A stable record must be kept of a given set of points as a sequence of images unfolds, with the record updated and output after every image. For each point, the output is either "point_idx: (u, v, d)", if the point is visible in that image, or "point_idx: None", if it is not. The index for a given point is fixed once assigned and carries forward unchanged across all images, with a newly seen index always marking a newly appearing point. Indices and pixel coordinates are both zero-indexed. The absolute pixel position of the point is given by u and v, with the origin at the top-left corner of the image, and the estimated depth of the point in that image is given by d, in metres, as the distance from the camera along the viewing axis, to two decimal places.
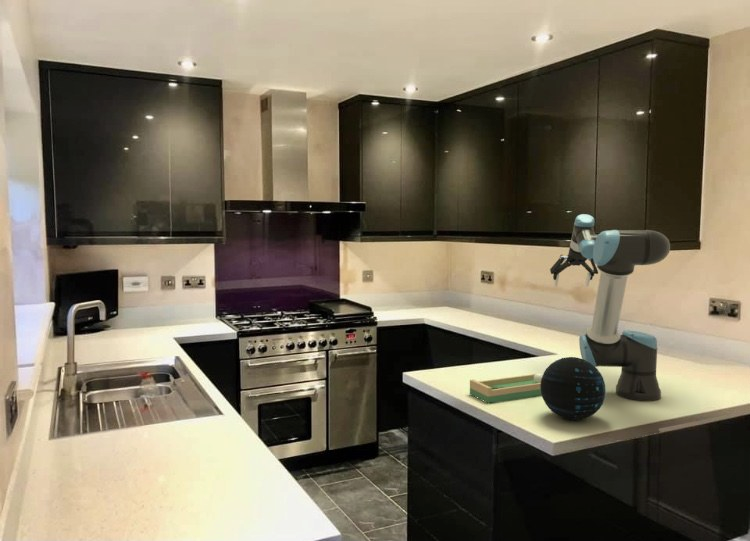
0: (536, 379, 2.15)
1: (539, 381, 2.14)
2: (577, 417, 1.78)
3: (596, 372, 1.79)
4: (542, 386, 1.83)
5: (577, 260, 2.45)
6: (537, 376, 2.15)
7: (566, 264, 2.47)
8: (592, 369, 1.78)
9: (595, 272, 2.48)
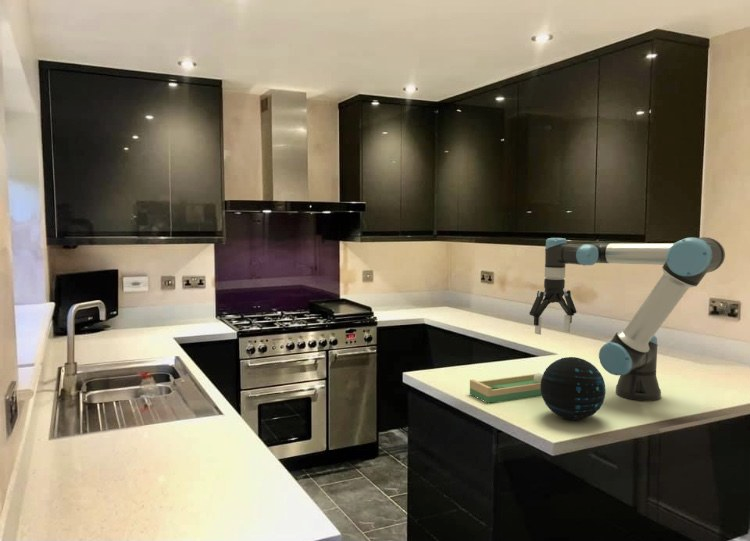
0: (536, 379, 2.15)
1: (539, 381, 2.14)
2: (577, 417, 1.78)
3: (596, 372, 1.79)
4: (542, 386, 1.83)
5: (556, 295, 2.17)
6: (537, 376, 2.15)
7: (546, 301, 2.16)
8: (592, 369, 1.78)
9: (574, 311, 2.21)
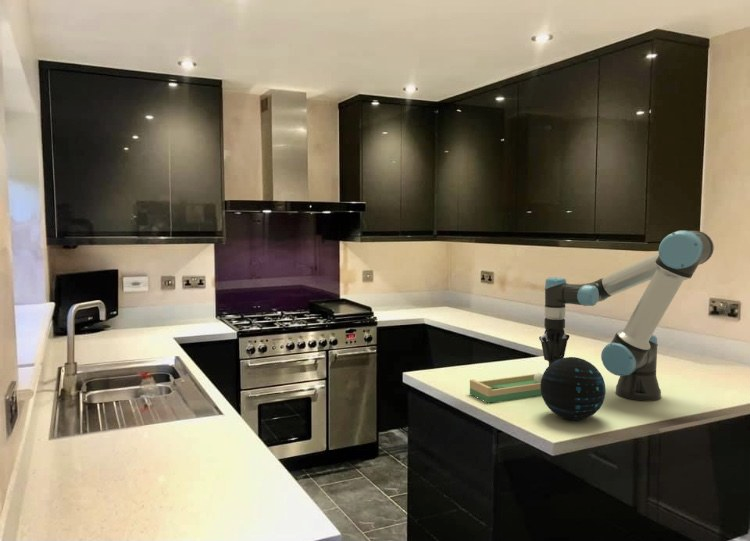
0: (536, 379, 2.15)
1: (539, 381, 2.14)
2: (577, 417, 1.78)
3: (596, 372, 1.79)
4: (542, 386, 1.83)
5: (556, 334, 2.17)
6: (537, 376, 2.15)
7: (551, 344, 2.16)
8: (592, 369, 1.78)
9: (561, 356, 2.18)
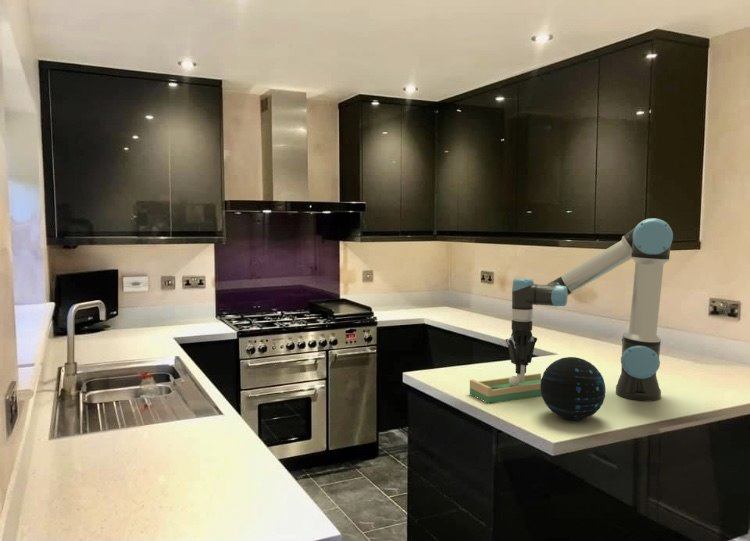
0: (512, 379, 2.11)
1: (514, 382, 2.10)
2: (577, 417, 1.78)
3: (596, 372, 1.79)
4: (542, 386, 1.83)
5: (523, 337, 2.11)
6: (515, 377, 2.11)
7: (518, 347, 2.11)
8: (592, 369, 1.78)
9: (529, 359, 2.13)
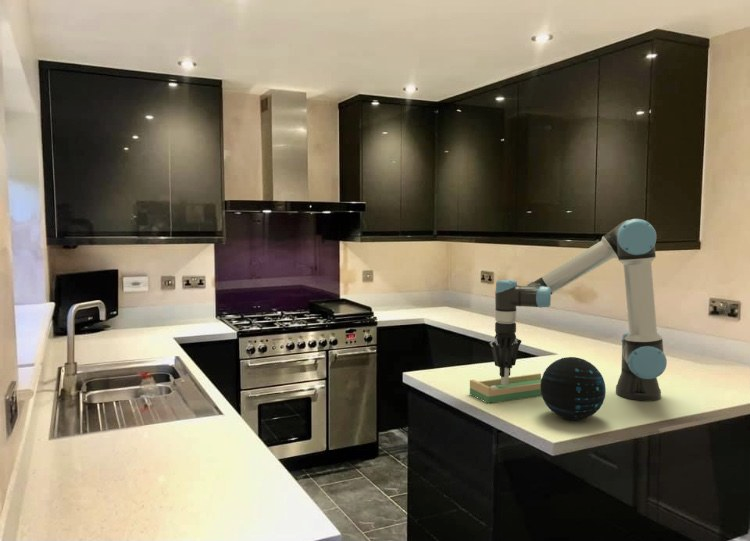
0: None
1: None
2: (577, 417, 1.78)
3: (596, 372, 1.78)
4: (542, 386, 1.83)
5: (507, 339, 2.08)
6: None
7: (502, 349, 2.08)
8: (592, 369, 1.78)
9: (513, 362, 2.10)
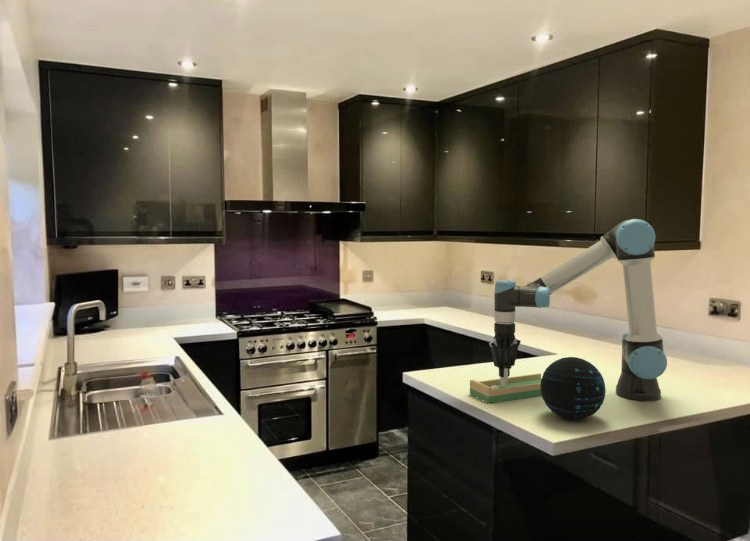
0: None
1: None
2: (577, 417, 1.78)
3: (596, 372, 1.79)
4: (542, 386, 1.83)
5: (506, 339, 2.08)
6: None
7: (501, 350, 2.08)
8: (592, 369, 1.78)
9: (512, 362, 2.09)
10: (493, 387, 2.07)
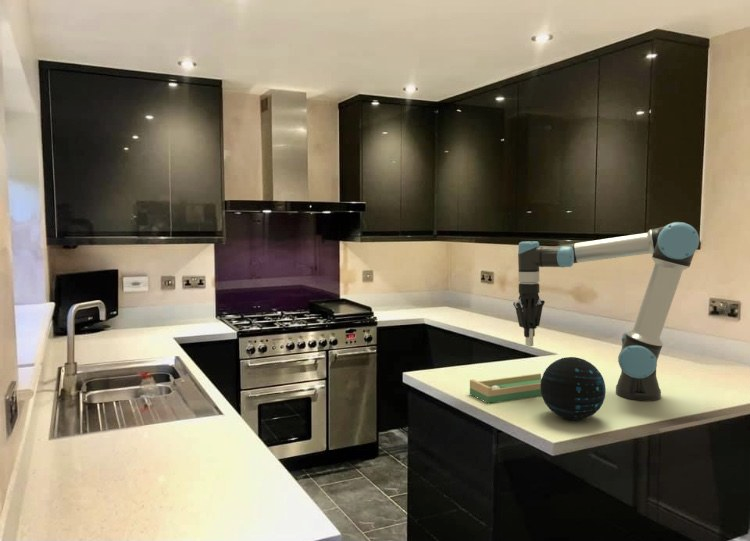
0: None
1: None
2: (577, 417, 1.78)
3: (596, 372, 1.79)
4: (542, 386, 1.83)
5: (531, 300, 2.11)
6: None
7: (526, 310, 2.10)
8: (592, 369, 1.78)
9: (537, 322, 2.12)
10: (494, 387, 2.07)
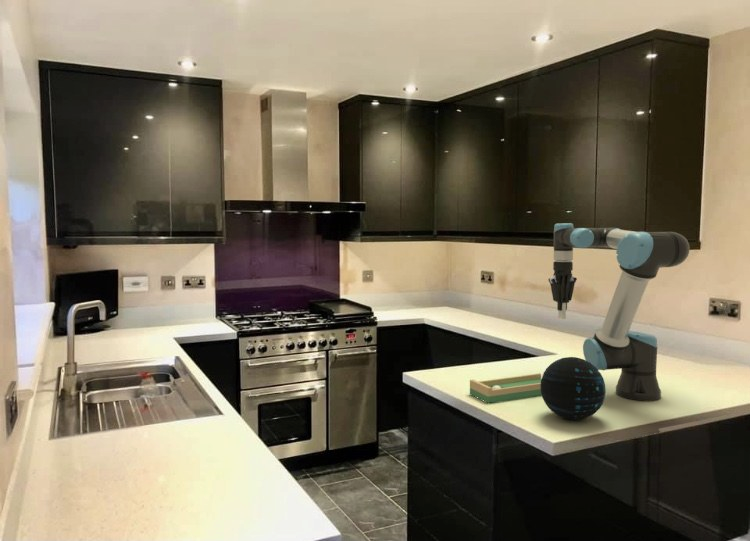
0: None
1: None
2: (577, 417, 1.78)
3: (596, 372, 1.79)
4: (542, 386, 1.83)
5: (564, 276, 2.31)
6: None
7: (560, 285, 2.31)
8: (592, 369, 1.78)
9: (569, 297, 2.33)
10: (497, 387, 2.07)
